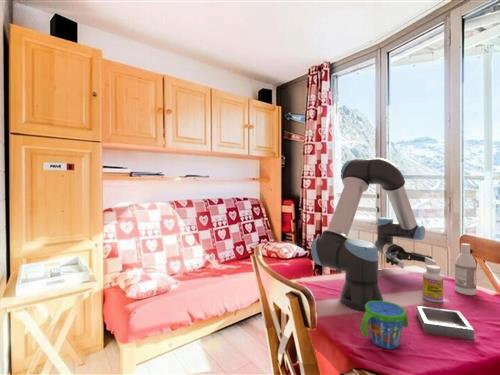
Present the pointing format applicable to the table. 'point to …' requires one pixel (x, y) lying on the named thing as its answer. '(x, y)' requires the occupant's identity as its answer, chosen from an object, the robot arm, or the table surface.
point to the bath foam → (465, 272)
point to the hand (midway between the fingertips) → (419, 265)
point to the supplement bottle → (433, 284)
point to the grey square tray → (444, 322)
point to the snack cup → (384, 323)
